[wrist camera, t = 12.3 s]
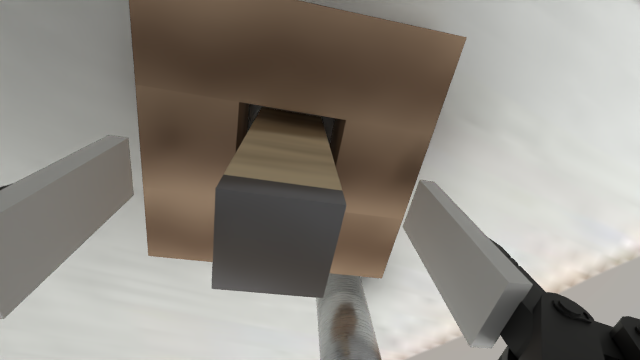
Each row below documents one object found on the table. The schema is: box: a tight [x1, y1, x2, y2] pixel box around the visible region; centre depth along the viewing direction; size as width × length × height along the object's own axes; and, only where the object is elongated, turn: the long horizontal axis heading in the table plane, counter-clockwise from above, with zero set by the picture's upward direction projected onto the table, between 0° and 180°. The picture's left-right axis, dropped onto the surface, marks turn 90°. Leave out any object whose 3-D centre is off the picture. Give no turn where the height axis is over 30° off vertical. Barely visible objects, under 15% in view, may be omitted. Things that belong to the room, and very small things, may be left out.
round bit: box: [316, 273, 381, 360], centre depth 21 cm, size 4×4×12 cm
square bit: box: [212, 107, 347, 298], centre depth 15 cm, size 4×4×12 cm
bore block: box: [129, 0, 467, 278], centre depth 19 cm, size 16×16×4 cm
